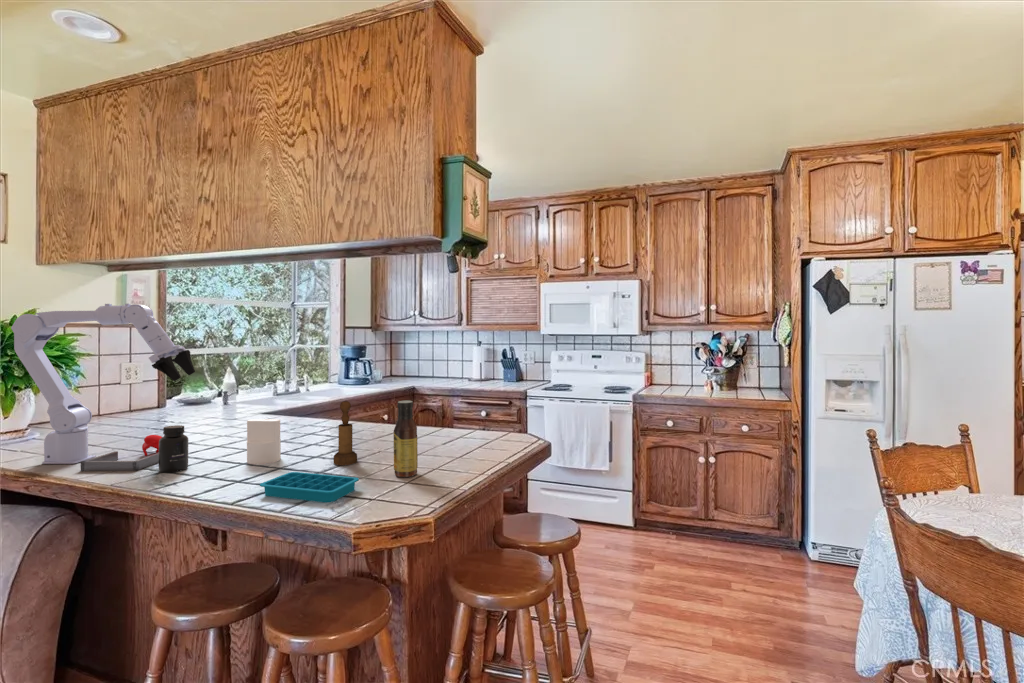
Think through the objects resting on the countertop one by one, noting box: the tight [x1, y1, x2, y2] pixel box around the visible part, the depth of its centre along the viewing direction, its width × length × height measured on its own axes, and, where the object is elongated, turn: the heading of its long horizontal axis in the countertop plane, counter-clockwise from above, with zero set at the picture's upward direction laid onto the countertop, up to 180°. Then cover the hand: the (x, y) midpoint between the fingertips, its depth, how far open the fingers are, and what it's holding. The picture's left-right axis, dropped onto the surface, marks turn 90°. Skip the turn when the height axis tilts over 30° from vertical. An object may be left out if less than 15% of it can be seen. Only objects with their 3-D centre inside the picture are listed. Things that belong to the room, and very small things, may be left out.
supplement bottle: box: [158, 424, 189, 474], centre depth 138 cm, size 7×7×12 cm
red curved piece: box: [141, 434, 163, 457], centre depth 156 cm, size 8×6×6 cm
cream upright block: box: [246, 418, 282, 465], centre depth 148 cm, size 9×9×12 cm
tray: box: [80, 450, 159, 472], centre depth 143 cm, size 15×12×2 cm
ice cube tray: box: [259, 471, 360, 503], centre depth 119 cm, size 12×20×3 cm, turn 74°
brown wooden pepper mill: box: [333, 400, 358, 466], centre depth 146 cm, size 7×6×18 cm
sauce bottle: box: [393, 400, 419, 478], centre depth 133 cm, size 6×6×20 cm
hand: (185, 376), depth 155 cm, fingers open, 7 cm apart
